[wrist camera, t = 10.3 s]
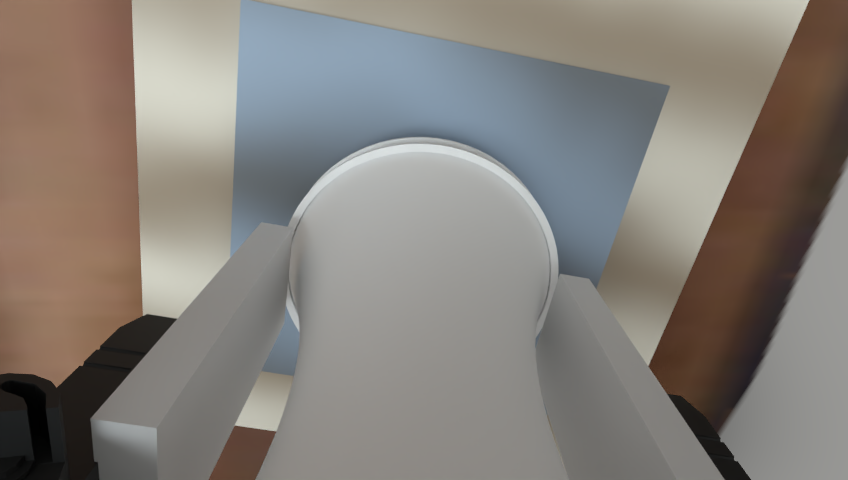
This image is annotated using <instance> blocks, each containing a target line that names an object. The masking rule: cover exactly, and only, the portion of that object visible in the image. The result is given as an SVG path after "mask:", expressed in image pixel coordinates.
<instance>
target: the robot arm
mask: <svg viewBox="0 0 848 480" xmlns="http://www.w3.org/2000/svg"><path fill="white" fill-rule="evenodd" d="M292 234H293V228H292V227H286V226H281V225H275V224H269V223H263V222H261V223H260V224H259V226H258V227H257V228H256V229H255V230H254V231H253V232H252V234H251V235H250V236H249V237H248V238H247V239H246V240H245V242H244V243H243V244H242V245H241V246H240V247H239V249H238V250H237V251H236V252H235V253H234V254H233V255H232V257H231V258H230V259H229V260H228V261H227V262H226V263H225V265H224V266H223V267H222V268H221V269H220V270H219V272H218V273H217V274H216V275H215V276H214V277H213V278H212V280H211V281H210V282H209V283H208V284H207V285H206V286H205V288H204V289H203V290H202V291H201V292H200V293H199V295H198V296H197V297H196V298H195V299H194V300H193V301H192V303H191V304H190V305H189V306H188V307H187V308H186V309H185V311H184V312H183V313H182V314H181V315H180V316H179V318H178V319H176V318H170V317H163V316H157V315H151V314H146V315H144V316H142V317H140V318H138V319H136V320H134V321H132V322H130V323H128V324H126V325H124V326H122V327H120V328H119V329H118V330H117V331H116V332H115V333H113V334H112V335H111V336H110V337H109V338H108V339H107V340H106V341H105V342H104V343H103V344H102V345H101V346H100V349H99V350H96V351H95V352H94V353H93V354H92V355H91V356H90V357H88V358H87V359H86V360H85V361H84V365H83V366H79V367H78V368H77V369H76V370H75V371H74V372H73V373H72V374H71V375H70V376H69V377H68V378H67V379H66V380H65V381H63V382H62V383H61V384H60V385H59V386H58V387H57V388H56V387H55V385H54V384H53V383H52V382H51V381H49V380H47V379H44V378H41V377H38V376H36V375H32V374H13V373H7V374H0V480H208V479H209V477H210V475H211V473H212V471H213V469H214V467H215V465H216V463H217V461H218V459H219V457H220V455H221V453H222V451H223V448H224V446H225V444H226V442H227V440H228V438H229V436H230V434H231V432H232V430H233V428H234V426H235V424H236V422H237V420H238V418H239V415H240V413H241V411H242V409H243V407H244V405H245V403H246V401H247V399H248V397H249V395H250V393H251V391H252V389H253V387H254V385H255V383H256V380H257V378H258V376H259V374H260V372H261V370H262V368H263V366H264V364H265V362H266V360H267V358H268V356H269V354H270V352H271V350H272V348H273V345H274V343H275V341H276V339H277V337H278V335H279V333H280V331H281V329H282V327H283V325H284V320H285V310H286V299H287V288H288V277H289V266H290V256H291V245H292ZM535 352H536V364H537V372H538V379H539V384H540V390H541V394H542V398H543V401H544V404H545V408H546V411H547V414H548V417H549V420H550V423H551V426H552V429H553V432H554V435H555V438H556V441H557V444H558V448H559V451H560V454H561V457H562V460H563V463H564V466H565V469H566V472H567V475H568V478H569V480H751V479H750V478H749V476H748V475H747V474H746V472H745V471H744V470H743V468H742V467H741V465H740V464H739V463H738V462H736V461H734V456H733V455H732V453H731V452H730V451H729V449H728V448H727V446H726V445H725V444H724V443H723V442H720V437H719V435H718V434H717V433H716V431H715V430H714V429H713V427H712V426H711V425H710V423H709V422H708V420H707V419H706V418H705V416H704V415H702V414H701V413H700V412H699V411H698V410H697V409H695V408H694V407H693V406H692V405H691V404H690V403H688V402H687V401H686V400H685V399H684V398H683V397H681V396H677V395H671V394H667V393H666V392H665V391H664V389H663V388H662V386H661V385H660V383H659V382H658V380H657V379H656V377H655V376H654V374H653V373H652V371H651V370H650V368H649V367H648V365H647V364H646V362H645V361H644V359H643V358H642V356H641V355H640V353H639V352H638V351H637V349H636V348H635V346H634V345H633V343H632V342H631V340H630V339H629V337H628V336H627V334H626V333H625V331H624V330H623V328H622V327H621V325H620V324H619V322H618V321H617V319H616V318H615V316H614V315H613V313H612V312H611V310H610V309H609V308H608V306H607V305H606V303H605V302H604V300H603V299H602V297H601V296H600V294H599V293H598V291H597V290H596V288H595V287H594V285H593V284H592V282H591V281H590V279H588V278H582V277H576V276H570V275H564V274H560V275H559V278H558V281H557V284H556V288H555V291H554V294H553V297H552V300H551V303H550V306H549V309H548V312H547V315H546V318H545V321H544V324H543V327H542V330H541V333H540V336H539V340H538V343H537V346H536V349H535Z"/></svg>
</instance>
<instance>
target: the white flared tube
mask: <svg viewBox="0 0 848 480" xmlns="http://www.w3.org/2000/svg"><path fill="white" fill-rule="evenodd" d="M288 227H292V228H293V234H292V245H291V256H290V266H289V277H288V288H287V299H286V306H287V309H288V312H289V314H290V316H291V318H292V320H293V322H294V324H295V326H296V328H297V329H298V331H299V332H300V334H299V350H298V357H297V363H296V368H295V374H294V378H293V382H292V386H291V389H290V393H289V396H288V399H287V402H286V406H285V409H284V412H283V415H282V418H281V421H280V423H279V426H278V429H277V431H276V434H275V436H274V439H273V441H272V443H271V446H270V448H269V450H268V453H267V455H266V457H265V459H264V462H263V464H262V466H261V469H260V471H259V473H258V475H257V477H256V479H255V480H569V478H568V476H567V473H566V470H565V468H564V465H563V462H562V460H561V457H560V454H559V451H558V449H557V446H556V443H555V441H554V438H553V434H552V431H551V428H550V425H549V422H548V418H547V414H546V410H545V406H544V402H543V398H542V394H541V390H540V384H539V379H538V372H537V364H536V352H535V342H536V337H537V335H538V334H539V332H540V331H541V329H542V327H543V324H544V321H545V318H546V315H547V312H548V309H549V306H550V303H551V300H552V297H553V294H554V291H555V288H556V284H557V281H558V254H557V248H556V244H555V240H554V236H553V233H552V230H551V228H550V225H549V223H548V221H547V219H546V217H545V215H544V213H543V211H542V210H541V208H540V206H539V205H538V203H537V202H536V200H535V199H534V198H533V196H532V195H531V193H530V192H529V190H528V189H527V188H526V186H525V185H524V184H523V183H522V181H521V180H520V179H519V178H518V177H517V176H516V175H515V174H514V173H513V172H512V171H510V170H509V169H508V168H507V167H506V166H504V165H503V164H502V163H500V162H499V161H497V160H496V159H494V158H493V157H491V156H489V155H488V154H486V153H484V152H482V151H480V150H478V149H475V148H473V147H470V146H468V145H465V144H462V143H458V142H455V141H451V140H446V139H440V138H431V137H406V138H398V139H391V140H387V141H383V142H379V143H376V144H373V145H370V146H367V147H365V148H363V149H360V150H358V151H356V152H354V153H352V154H350V155H349V156H347V157H345V158H344V159H342V160H341V161H339V162H338V163H337V164H335V165H334V166H332V167H331V168H330V169H329V170H328V171H327V172H326V173H325V174H323V175H322V176H321V177H320V179H319V180H318V181H317V182H316V183H315V184H314V185H313V187H312V188H311V189H310V191H309V192H308V193H307V195H306V196H305V197H304V199H303V200H302V201H301V203H300V204H299V206H298V207H297V209H296V211H295V212H294V214H293V216H292V218H291V220H290V222H289V225H288ZM548 286H549V287H548ZM547 291H548V292H547ZM292 296H293V297H292ZM544 302H545V303H544Z"/></svg>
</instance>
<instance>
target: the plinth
mask: <svg viewBox="0 0 848 480" xmlns="http://www.w3.org/2000/svg"><path fill="white" fill-rule="evenodd" d="M808 2H809V0H132V18H133V46H134V74H135V103H136V131H137V159H138V187H139V216H140V244H141V272H142V300H143V316H144V315H146V314H151V315H157V316H163V317H170V318H176V319H178V318H179V316H180V315H181V314H182V313H183V312H184V311H185V309H186V308H187V307H188V306H189V305H190V304H191V303H192V301H193V300H194V299H195V298H196V297H197V296H198V295H199V293H200V292H201V291H202V290H203V289H204V288H205V286H206V285H207V284H208V283H209V282H210V281H211V280H212V278H213V277H214V276H215V275H216V274H217V273H218V272H219V270H220V269H221V268H222V267H223V266H224V265H225V263H226V262H227V261H228V260H229V259H230V258H231V257H232V255H233V254H234V253H235V252H236V251H237V250H238V249H239V247H240V246H241V245H242V244H243V243H244V242H245V240H246V239H247V238H248V237H249V236H250V235H251V234H252V232H253V231H254V230H255V229H256V228H257V227H258V226H259V224H260V223H261V222H263V223H269V224H275V225H281V226H286V227H288V225H289V222H290V220H291V218H292V216H293V214H294V212H295V211H296V209H297V207H298V206H299V204H300V203H301V201H302V200H303V199H304V197H305V196H306V195H307V193H308V192H309V191H310V189H311V188H312V187H313V185H314V184H315V183H316V182H317V181H318V180H319V179H320V177H321V176H322V175H323V174H325V173H326V172H327V171H328V170H329V169H330V168H331V167H332V166H334V165H335V164H337V163H338V162H339V161H341V160H342V159H344V158H345V157H347V156H349V155H350V154H352V153H354V152H356V151H358V150H360V149H363V148H365V147H367V146H370V145H373V144H376V143H379V142H383V141H387V140H391V139H398V138H406V137H431V138H440V139H446V140H451V141H455V142H458V143H462V144H465V145H468V146H470V147H473V148H475V149H478V150H480V151H482V152H484V153H486V154H488V155H489V156H491V157H493V158H494V159H496V160H497V161H499V162H500V163H502V164H503V165H504V166H506V167H507V168H508V169H509V170H510V171H512V172H513V173H514V174H515V175H516V176H517V177H518V178H519V179H520V180H521V181H522V183H523V184H524V185H525V186H526V188H527V189H528V190H529V192H530V193H531V195H532V196H533V198H534V199H535V200H536V202H537V203H538V205H539V206H540V208H541V210H542V211H543V213H544V215H545V217H546V219H547V221H548V223H549V225H550V228H551V230H552V233H553V236H554V240H555V244H556V248H557V254H558V278H559V275H560V274H564V275H570V276H576V277H582V278H588V279H590V281H591V282H592V284H593V285H594V287H595V288H596V290H597V291H598V293H599V294H600V296H601V297H602V299H603V300H604V302H605V303H606V305H607V306H608V308H609V309H610V310H611V312H612V313H613V315H614V316H615V318H616V319H617V321H618V322H619V324H620V325H621V327H622V328H623V330H624V331H625V333H626V334H627V336H628V337H629V339H630V340H631V342H632V343H633V345H634V346H635V348H636V349H637V351H638V352H639V353H640V355H641V356H642V358H643V359H644V361H645V362H646V364H647V365H648V366H649V363H650V361H651V359H652V357H653V354H654V352H655V350H656V348H657V345H658V343H659V341H660V338H661V336H662V334H663V332H664V329H665V327H666V325H667V323H668V320H669V318H670V316H671V313H672V311H673V309H674V307H675V304H676V302H677V300H678V298H679V295H680V293H681V291H682V288H683V286H684V284H685V282H686V279H687V277H688V275H689V273H690V270H691V268H692V266H693V263H694V261H695V259H696V257H697V254H698V252H699V250H700V248H701V245H702V243H703V241H704V238H705V236H706V234H707V232H708V229H709V227H710V225H711V223H712V220H713V218H714V216H715V213H716V211H717V209H718V207H719V204H720V202H721V200H722V198H723V195H724V193H725V191H726V188H727V186H728V184H729V182H730V179H731V177H732V175H733V173H734V170H735V168H736V166H737V163H738V161H739V159H740V157H741V154H742V152H743V150H744V147H745V145H746V143H747V141H748V138H749V136H750V134H751V132H752V129H753V127H754V125H755V122H756V120H757V118H758V116H759V113H760V111H761V109H762V107H763V104H764V102H765V100H766V97H767V95H768V93H769V91H770V88H771V86H772V84H773V82H774V79H775V77H776V75H777V72H778V70H779V68H780V66H781V63H782V61H783V59H784V57H785V54H786V52H787V50H788V47H789V45H790V43H791V41H792V38H793V36H794V34H795V32H796V29H797V27H798V25H799V22H800V20H801V18H802V16H803V13H804V11H805V9H806V7H807V4H808ZM548 287H549V286H548ZM547 292H548V291H547ZM292 297H293V296H292ZM544 303H545V302H544ZM541 330H542V329H541ZM540 333H541V331H540V332H539V334H538V335H537V337H536V342H535V349H536V346H537V343H538V340H539V336H540ZM299 334H300V332H299V331H298V329H297V328H296V326H295V324H294V322H293V320H292V318H291V316H290V314H289V312H288V309H287V306H286V310H285V320H284V325H283V327H282V329H281V331H280V333H279V335H278V337H277V339H276V341H275V343H274V345H273V348H272V350H271V352H270V354H269V356H268V358H267V360H266V362H265V364H264V366H263V368H262V370H261V372H260V374H259V376H258V378H257V380H256V383H255V385H254V387H253V389H252V391H251V393H250V395H249V397H248V399H247V401H246V403H245V405H244V407H243V409H242V411H241V413H240V415H239V418H238V420H237V422H236V424H235V425H236V426H243V427H250V428H257V429H264V430H271V431H277V429H278V426H279V423H280V421H281V418H282V415H283V412H284V409H285V406H286V402H287V399H288V396H289V393H290V389H291V386H292V382H293V378H294V374H295V368H296V363H297V357H298V350H299ZM543 402H544V401H543ZM544 406H545V404H544ZM545 410H546V408H545ZM546 414H547V411H546ZM547 418H548V422H549V425H550V428H551V431H552V434H553V438H554V441H555V443H556V446H557V449H558V451H559V448H558V444H557V441H556V438H555V435H554V432H553V429H552V426H551V423H550V420H549V417H548V414H547ZM559 454H560V451H559ZM560 457H561V454H560ZM561 460H562V457H561ZM562 462H563V460H562ZM563 465H564V463H563ZM564 468H565V466H564ZM565 470H566V469H565ZM566 473H567V472H566Z"/></svg>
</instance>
